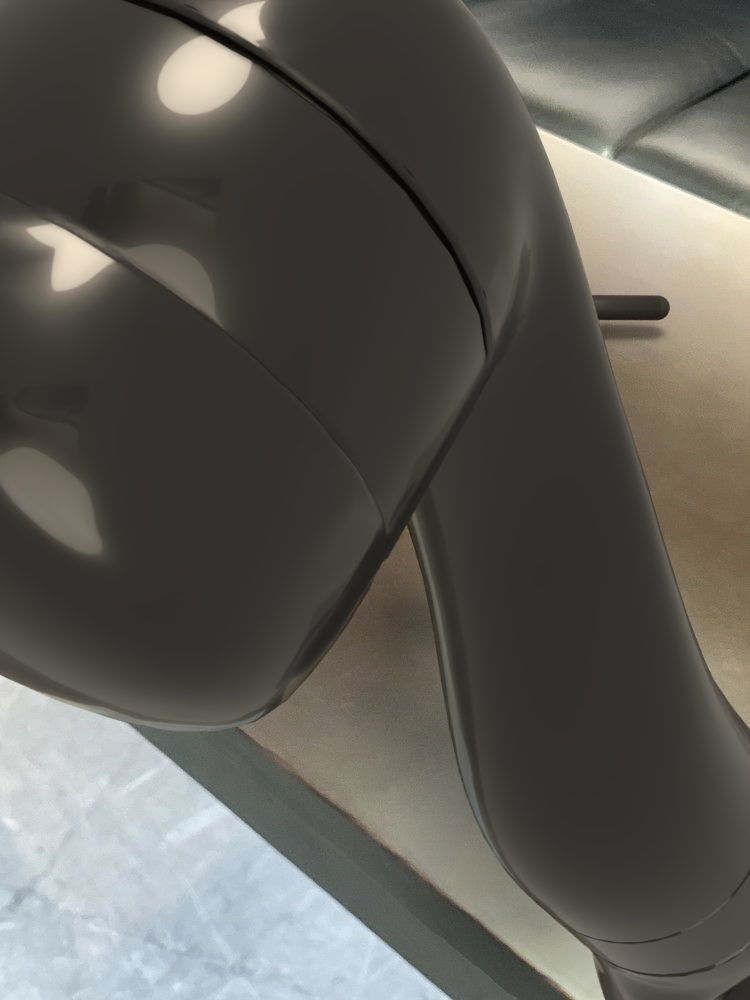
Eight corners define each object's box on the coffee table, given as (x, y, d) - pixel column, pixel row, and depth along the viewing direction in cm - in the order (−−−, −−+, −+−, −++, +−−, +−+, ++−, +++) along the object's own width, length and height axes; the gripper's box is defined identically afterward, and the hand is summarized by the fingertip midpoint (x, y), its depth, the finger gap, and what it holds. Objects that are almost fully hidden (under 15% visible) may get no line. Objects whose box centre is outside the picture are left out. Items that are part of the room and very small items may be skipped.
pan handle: (527, 324, 92) (530, 304, 91) (523, 309, 93) (527, 289, 92) (669, 325, 93) (674, 305, 91) (663, 310, 94) (669, 290, 93)
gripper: (721, 487, 48) (552, 255, 59) (403, 554, 44) (288, 294, 55) (678, 601, 53) (531, 369, 64) (391, 669, 50) (289, 410, 61)
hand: (419, 335), depth 60 cm, fingers closed on brush, 2 cm apart
